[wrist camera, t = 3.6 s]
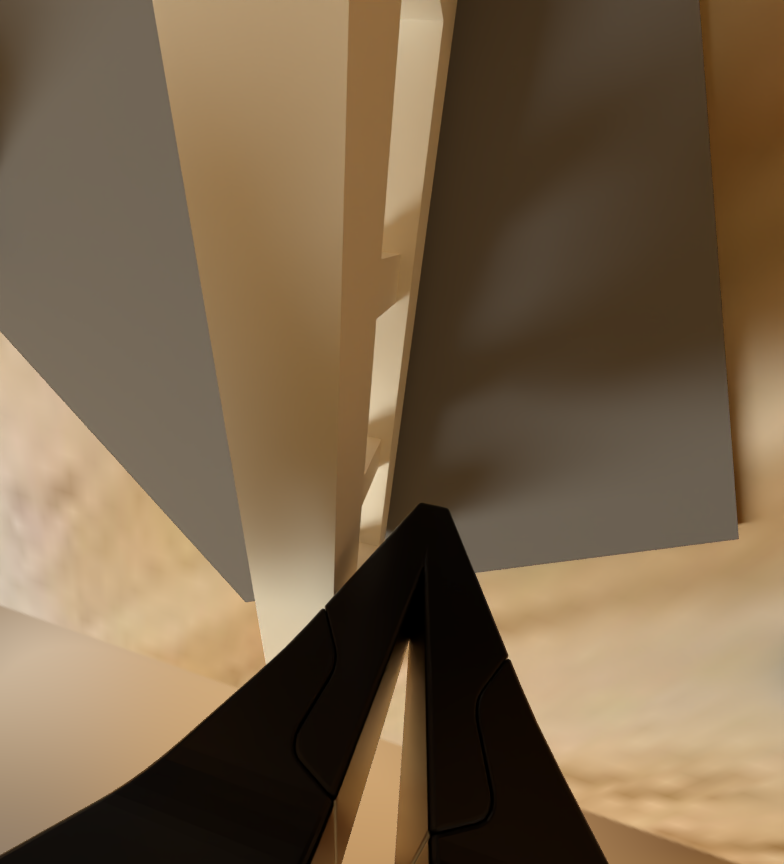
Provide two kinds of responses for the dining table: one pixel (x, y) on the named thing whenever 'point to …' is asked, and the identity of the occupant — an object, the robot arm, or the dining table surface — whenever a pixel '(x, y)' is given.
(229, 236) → the gate
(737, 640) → the dining table surface
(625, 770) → the dining table surface
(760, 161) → the dining table surface
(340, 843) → the robot arm
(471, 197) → the mat
